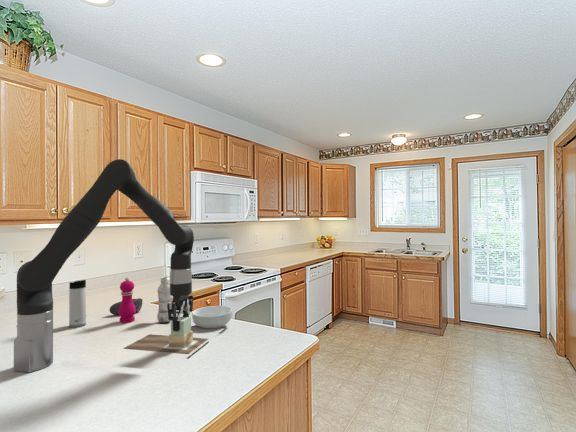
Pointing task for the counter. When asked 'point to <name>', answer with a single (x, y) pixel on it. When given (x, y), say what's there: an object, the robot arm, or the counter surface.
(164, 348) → the brown flat wooden board
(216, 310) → the cereal bowl
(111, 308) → the perforated stone tool
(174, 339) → the maple block
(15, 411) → the counter surface
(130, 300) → the pepper mill
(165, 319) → the plastic bottle
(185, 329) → the sage block
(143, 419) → the counter surface
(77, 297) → the travel mug
